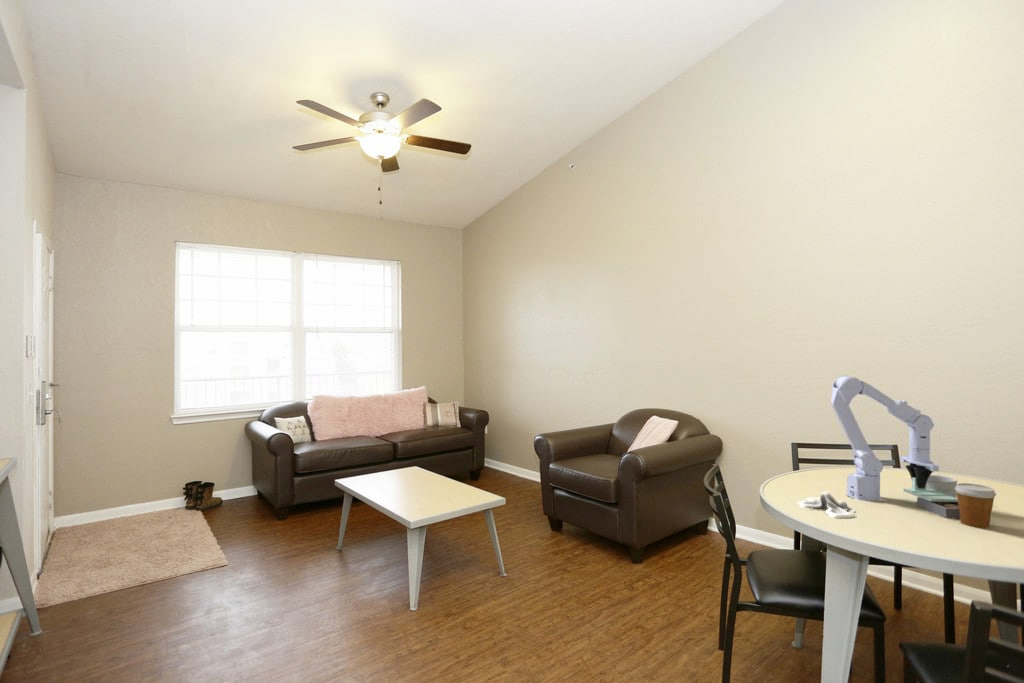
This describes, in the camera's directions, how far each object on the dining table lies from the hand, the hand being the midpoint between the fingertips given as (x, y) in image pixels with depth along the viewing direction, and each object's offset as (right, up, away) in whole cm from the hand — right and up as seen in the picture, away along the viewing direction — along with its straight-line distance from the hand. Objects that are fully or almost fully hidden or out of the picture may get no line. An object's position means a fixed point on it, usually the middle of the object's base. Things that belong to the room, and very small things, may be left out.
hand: (919, 487), depth 184 cm
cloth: (-35, -6, -6) cm, 36 cm away
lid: (0, -2, -5) cm, 6 cm away
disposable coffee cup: (-1, -6, -24) cm, 24 cm away
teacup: (+10, -6, +4) cm, 12 cm away
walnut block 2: (0, -5, -15) cm, 16 cm away
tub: (0, -5, -12) cm, 13 cm away
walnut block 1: (0, -5, -9) cm, 10 cm away
